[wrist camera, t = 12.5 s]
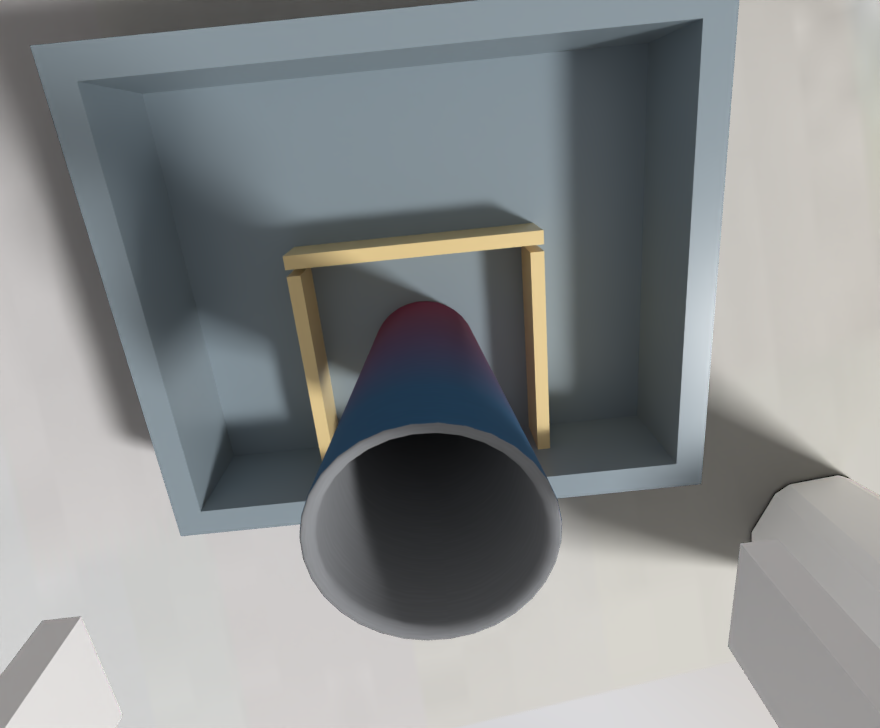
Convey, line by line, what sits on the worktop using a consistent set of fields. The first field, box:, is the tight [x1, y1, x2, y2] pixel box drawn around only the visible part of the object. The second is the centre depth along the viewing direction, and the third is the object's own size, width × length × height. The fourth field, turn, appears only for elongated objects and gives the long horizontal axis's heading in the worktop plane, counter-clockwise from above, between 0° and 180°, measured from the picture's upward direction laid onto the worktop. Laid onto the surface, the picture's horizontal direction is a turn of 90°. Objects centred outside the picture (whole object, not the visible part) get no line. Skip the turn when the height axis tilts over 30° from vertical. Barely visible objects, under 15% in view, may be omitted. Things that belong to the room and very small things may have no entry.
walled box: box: [30, 0, 739, 536], centre depth 26 cm, size 20×24×6 cm
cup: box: [300, 301, 562, 640], centre depth 22 cm, size 7×7×15 cm
